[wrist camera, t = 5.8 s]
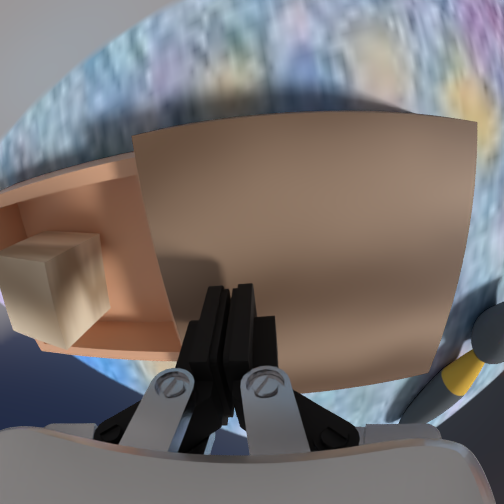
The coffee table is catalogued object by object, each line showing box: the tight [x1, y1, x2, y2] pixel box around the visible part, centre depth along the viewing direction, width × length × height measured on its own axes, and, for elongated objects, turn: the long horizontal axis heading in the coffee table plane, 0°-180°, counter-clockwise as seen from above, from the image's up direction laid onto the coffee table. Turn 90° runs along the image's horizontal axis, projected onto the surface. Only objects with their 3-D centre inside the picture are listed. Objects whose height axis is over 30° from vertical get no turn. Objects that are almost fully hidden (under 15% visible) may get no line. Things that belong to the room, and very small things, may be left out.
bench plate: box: [132, 111, 477, 394], centre depth 15 cm, size 14×14×6 cm
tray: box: [0, 151, 182, 361], centre depth 17 cm, size 12×13×4 cm
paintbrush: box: [399, 302, 504, 424], centre depth 21 cm, size 20×5×5 cm, turn 167°
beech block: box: [0, 231, 111, 350], centre depth 15 cm, size 5×5×5 cm
